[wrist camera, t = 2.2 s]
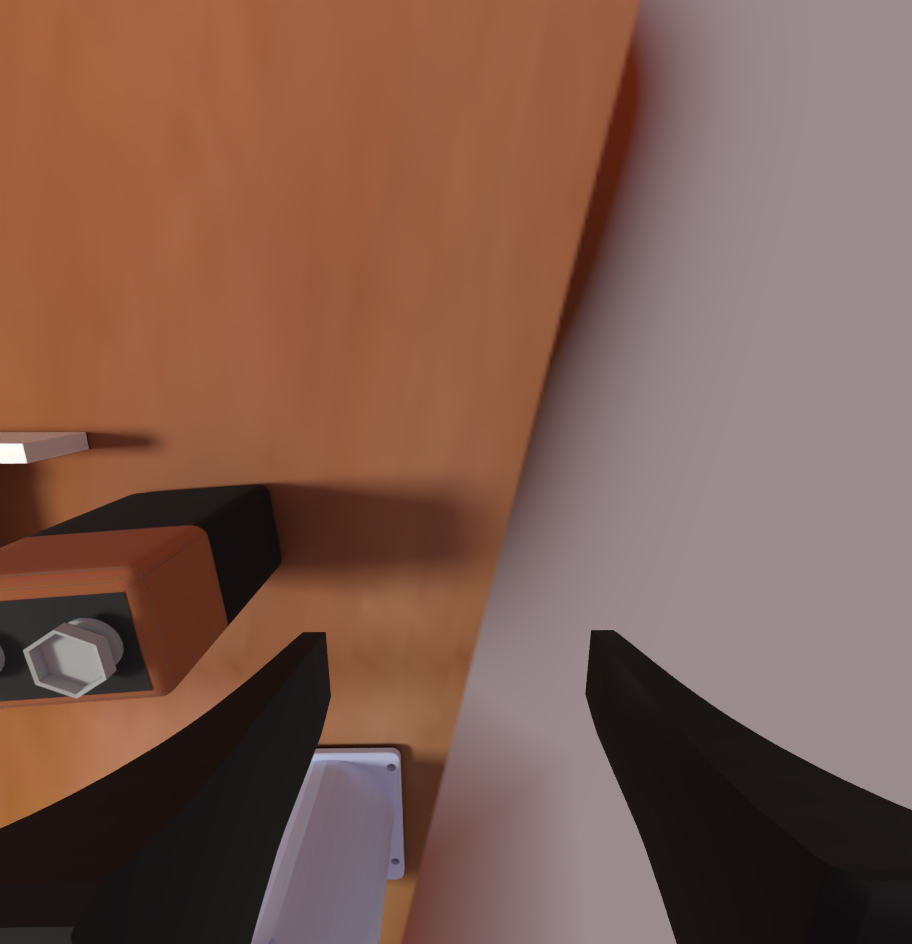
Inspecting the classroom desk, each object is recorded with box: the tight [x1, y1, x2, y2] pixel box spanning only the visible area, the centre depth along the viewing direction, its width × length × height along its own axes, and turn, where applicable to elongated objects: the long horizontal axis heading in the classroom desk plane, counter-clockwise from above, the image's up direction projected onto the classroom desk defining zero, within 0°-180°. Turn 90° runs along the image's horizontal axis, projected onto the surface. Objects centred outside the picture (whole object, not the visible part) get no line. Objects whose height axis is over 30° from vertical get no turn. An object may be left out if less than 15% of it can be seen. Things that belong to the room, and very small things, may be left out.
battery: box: [0, 485, 281, 708], centre depth 16 cm, size 4×7×10 cm, turn 94°
